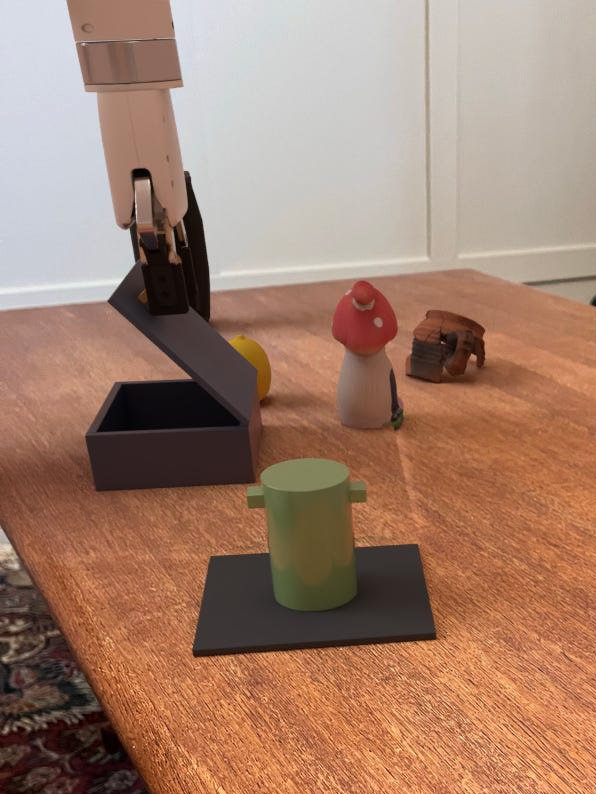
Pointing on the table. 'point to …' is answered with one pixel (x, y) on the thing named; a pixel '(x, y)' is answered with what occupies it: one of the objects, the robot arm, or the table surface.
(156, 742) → the table surface
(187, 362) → the box lid
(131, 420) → the box
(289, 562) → the green pot
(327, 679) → the table surface
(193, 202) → the portable speaker
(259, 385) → the lemon
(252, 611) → the grey mat
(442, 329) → the brown carved piece
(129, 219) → the robot arm
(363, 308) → the decorative ornament
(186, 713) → the table surface
